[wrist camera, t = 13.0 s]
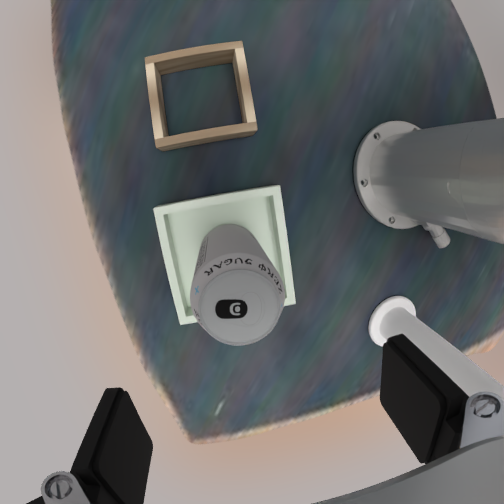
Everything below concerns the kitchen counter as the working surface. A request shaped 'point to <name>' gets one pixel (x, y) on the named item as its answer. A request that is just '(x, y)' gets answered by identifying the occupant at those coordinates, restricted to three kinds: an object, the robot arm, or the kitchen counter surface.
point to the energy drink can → (235, 287)
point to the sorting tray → (209, 217)
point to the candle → (429, 345)
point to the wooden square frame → (191, 60)
